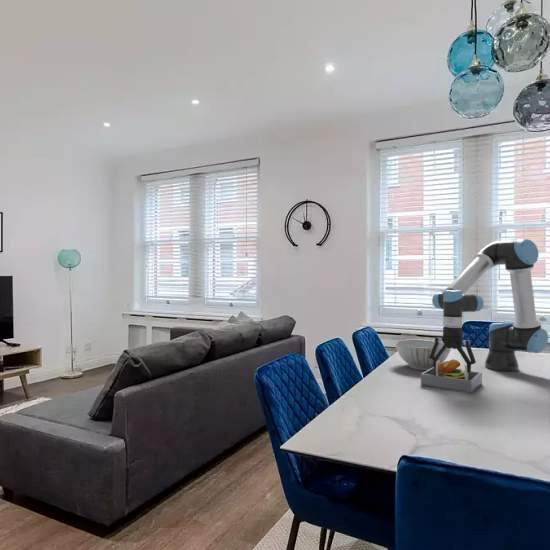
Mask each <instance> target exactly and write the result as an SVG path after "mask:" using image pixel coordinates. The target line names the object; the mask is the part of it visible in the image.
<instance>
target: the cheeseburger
mask: <svg viewBox="0 0 550 550" xmlns="http://www.w3.org/2000/svg"><path fill="white" fill-rule="evenodd" d="M460 366H461V363H460V361H458V360H456V359H450V360H444V361H443V362H442V363H440V364H439V365H438V371H439V372H440V373H441V376H442V377H449V378H456V379H463V380H465V372H464V371H463V370H464V369H462V368H459V367H460Z"/></svg>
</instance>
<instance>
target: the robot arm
mask: <svg viewBox="0 0 550 550" xmlns="http://www.w3.org/2000/svg"><path fill="white" fill-rule="evenodd" d="M538 258H539V250H538V247H537V244H535V242H534V241H532V240H531V239H527V238H516V239H500V240H496V241H493V242H491V243H490V244H488V245H486V246H485V247H483V248H481V250H479V252H477V254H475V256H474V259H473V261H472V262H471V263H469V265H468V266H467V267H466V268H465V269H464V270H463V271H462V272H461V273H460V274H459V275H458V276H457V277H456V278H455V279H454V280H453V281H452V282H451V283H450V284H449V286H447V287H446V288H445V289H444V291H443V292H442V291H441V292H436V293H434V294H433V296H432V298H431V301H432V303H431V304H432V306H434V308H436V309H439V310H443V314H442V315H443V316H442V318H443V320H442V325H443V328H442V337H440V336H436V337H435V338H434V341H435V344H434V347H433V349H432V352H431V354H430V357H429V358H430V359H432V360H434V368H436V376H439V373H440V372H439V371H438V365H439V364H440V361H439V360H438V359H439V357H440V356H441V355H442V353H443V352H444V351H445V349H446V348H451V349H453V350H457V351H458V352H459V354H460V356H461V357H462V358H463V360H464V362H465V363H466V364H464V370H465V380H468V373H470V372H471V371H472V365H475V364H476V362H477V361H476V359H475V356H474V353H473V350H472V347H471V340H470V339H463V328H462V326H463V313H472V312H473V313H475V312H479V311H481V310H482V309H483V308H484V299H483V297H482V296H481V295H478V294H473V293H472V294H466V293H467V292H468V291H469V290H470V289H471V288H472V287H473V286H474V285H475V284H476V283H477V281H479V279H481V278H482V276H483V275H484V274H485V273H486V272H487V271H490V270H492V269H493V268H494V267H496V266H499V265H504V267H505V270H506V271H507V272H509V278H510V284H511V295H512V300H513V301H512V302H513V309H514V310H513V311H514V317H515V321H514V322H492V323H491V324H489V329H488V339H489V340H488V354H487V356H486V358H485V361H484V368H486V369H489V370H494V371H501V372H517V371H519V368H520V366H519V363H518V359H517V357H516V354H515V353H516V351H521V352H525V353H526V352H527V353H528V354H529V353H530V354H540V353H541V352H543V351H544V350H545V349H546V347H547V345H548V341H549V333H548V331H547V330H545V329H544V328H542V325H541V322H540V321H538V320H537V313H536V306H535V298H534V297H535V295H534V287H533V280H532V269H534V267H535V264H536V263H537V262H538ZM440 342H443V343H444V345H443V347H442V348H441V350H440V351H439V352H438V354H437V355H436V356H435V357H434V355H435V353H436V350H437V348H438V345H439V343H440ZM462 344H464V346H465V348H466V351H467V354H468V355H467V354H466V352H465V351H464V348H463V346H462Z"/></svg>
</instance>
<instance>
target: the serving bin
mask: <svg viewBox="0 0 550 550" xmlns="http://www.w3.org/2000/svg"><path fill="white" fill-rule="evenodd" d="M462 370H463V371H464V372H465V369H462ZM482 379H483V372H479V371H472V370H471V372H470V373H468V380H463V379H456V378H449V377H442V376H441V373H439V376H436V368H434V367H432V368H431V369H429V370H424V371H423V372H421V373H420V387H421V386H422V387H427V388H433V389H438V390H446V391H453V392H459V393H464V394H470V395H471V394H473V393H474V392H475V391H476V390H478V389H479V387H480V386H482V385H483V383H482V382H483V380H482Z"/></svg>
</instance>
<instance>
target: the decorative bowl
mask: <svg viewBox="0 0 550 550" xmlns="http://www.w3.org/2000/svg"><path fill="white" fill-rule="evenodd" d="M434 344H435V340H429V339H401V340H399V339H398V340H397V341H395V349H396V350H397V353H398V355H399V356H400V358H401V359H402V360H403V361H404V362H405V363H407V365H409V368H411V369H414V370H421V371H427V370H429V369H431V368H432V367H434V360H432V359H430V358H429V357H430V354H431V352H432V349H433V347H434ZM443 345H444V343H443V341H441V342H440V343H439V345H438V348H437V350H436V353H435V355H434V357H435V356H436V355H437V354H438V352H439V351H440V350H441V348H442V347H443ZM451 350H452V348H446V349H445V351H444V352H443V353H442V355H441V356H440V357H439V359H438V360H439V361H440V363H442V362H445V361H446V359H447V358H448V356H450V355H449V354H450V353H451Z"/></svg>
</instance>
